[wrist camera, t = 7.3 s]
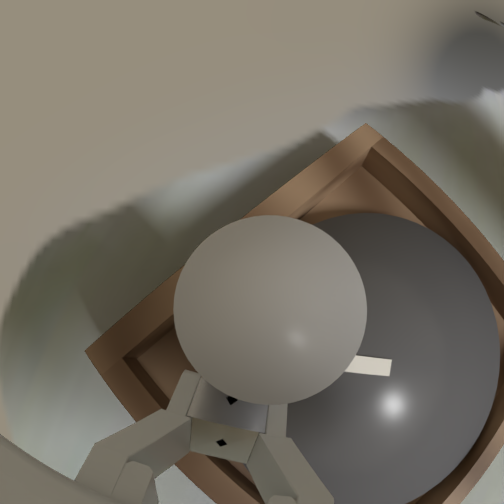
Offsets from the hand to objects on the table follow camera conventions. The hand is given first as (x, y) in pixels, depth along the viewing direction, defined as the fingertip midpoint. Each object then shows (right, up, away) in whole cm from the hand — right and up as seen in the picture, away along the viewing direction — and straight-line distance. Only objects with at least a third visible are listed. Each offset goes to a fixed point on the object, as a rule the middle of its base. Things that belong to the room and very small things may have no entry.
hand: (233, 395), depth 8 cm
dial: (+7, -2, +5) cm, 9 cm away
